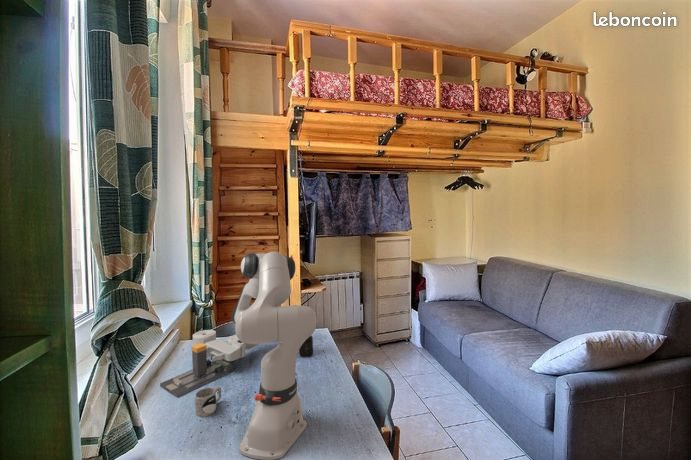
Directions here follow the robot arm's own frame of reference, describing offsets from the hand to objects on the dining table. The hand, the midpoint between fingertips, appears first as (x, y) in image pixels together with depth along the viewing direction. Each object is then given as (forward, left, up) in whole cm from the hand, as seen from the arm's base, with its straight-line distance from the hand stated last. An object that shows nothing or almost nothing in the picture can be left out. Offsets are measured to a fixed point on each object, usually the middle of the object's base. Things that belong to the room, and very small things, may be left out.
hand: (205, 356), depth 135 cm
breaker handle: (-2, +1, -6) cm, 7 cm away
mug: (-20, -16, -8) cm, 27 cm away
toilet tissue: (+19, +14, -8) cm, 25 cm away
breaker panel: (-2, +1, -8) cm, 9 cm away
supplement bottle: (+27, -36, -8) cm, 46 cm away
